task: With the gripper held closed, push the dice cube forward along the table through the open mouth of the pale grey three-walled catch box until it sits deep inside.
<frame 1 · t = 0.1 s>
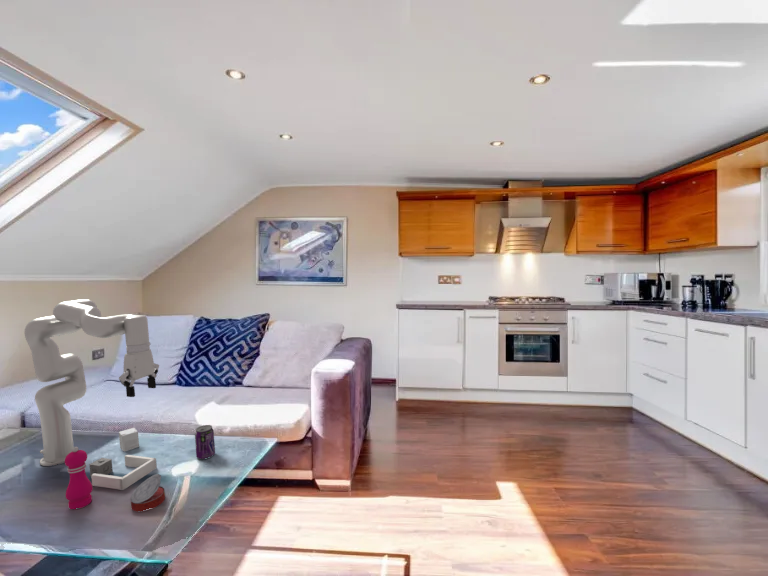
hand: (141, 392, 152), 31 cm above the table, tool pointing down, fingers open, 9 cm apart
pepper mill: (80, 504, 134), on the table
skincare box: (129, 448, 174), on the table
catch box: (125, 476, 151), on the table
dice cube: (101, 474, 153), on the table
canned food: (148, 503, 134), on the table
beverage can: (205, 456, 164), on the table
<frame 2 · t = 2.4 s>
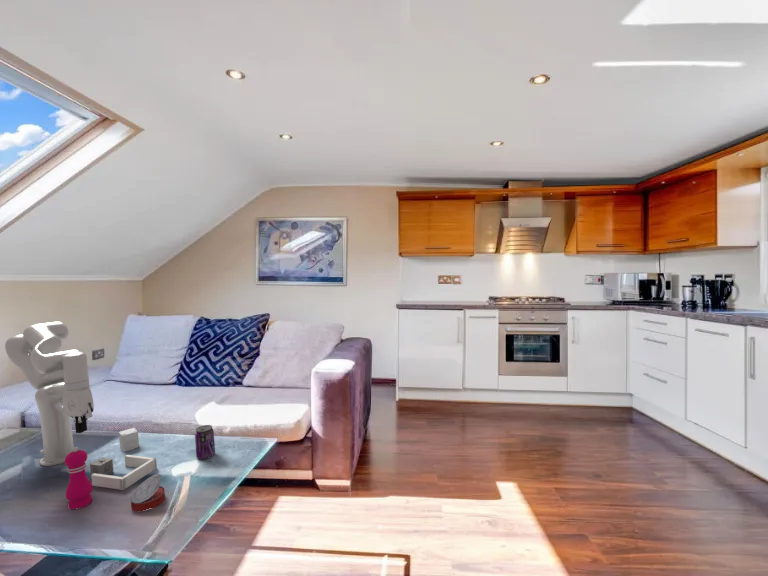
hand: (81, 431, 153), 16 cm above the table, tool pointing down, fingers closed
nothing on the table moved.
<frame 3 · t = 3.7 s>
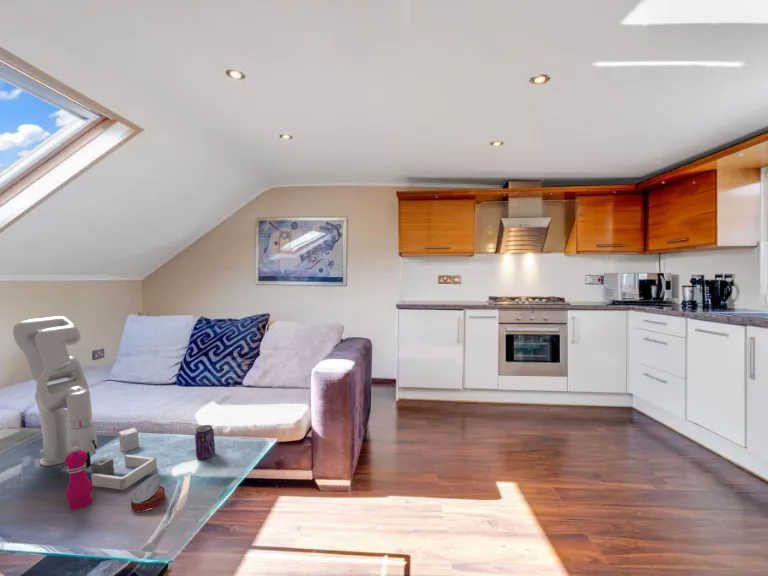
hand: (85, 468, 154), 2 cm above the table, tool pointing down, fingers closed
nothing on the table moved.
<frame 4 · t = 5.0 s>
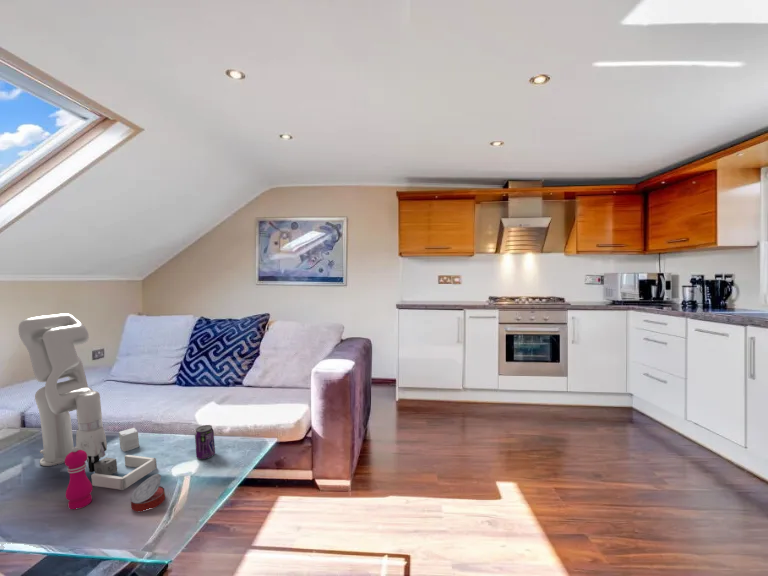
hand: (94, 470, 154), 1 cm above the table, tool pointing down, fingers closed
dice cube: (106, 474, 153), on the table, touching gripper
everything else where it was.
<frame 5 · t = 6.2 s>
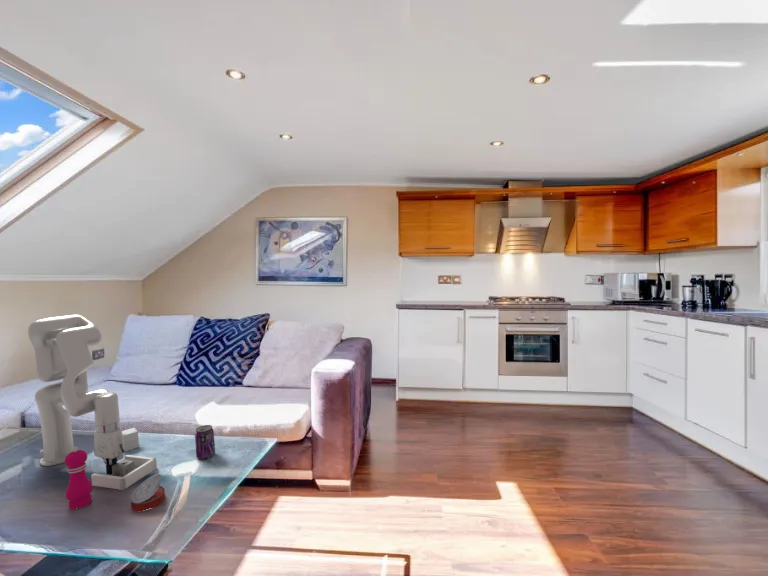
hand: (112, 472, 151), 1 cm above the table, tool pointing down, fingers closed
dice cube: (124, 476, 151), on the table, touching gripper
everything else where it was.
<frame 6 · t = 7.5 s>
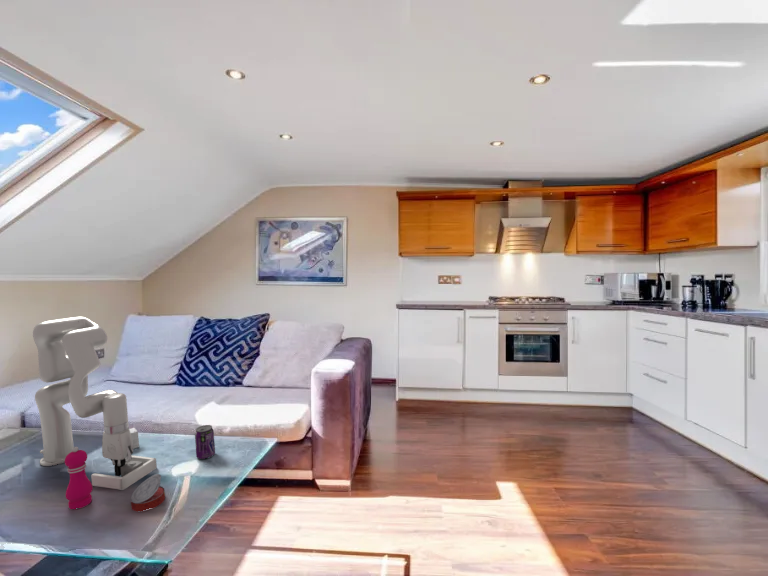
hand: (120, 474, 150), 1 cm above the table, tool pointing down, fingers closed
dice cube: (132, 477, 150), on the table, touching catch box, gripper
everything else where it was.
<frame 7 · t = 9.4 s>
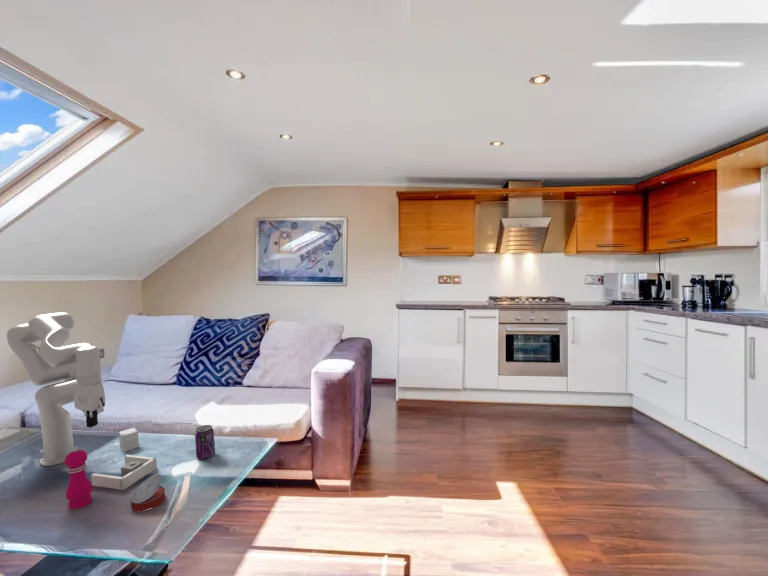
hand: (92, 425, 152), 19 cm above the table, tool pointing down, fingers closed
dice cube: (132, 478, 150), on the table
everything else where it was.
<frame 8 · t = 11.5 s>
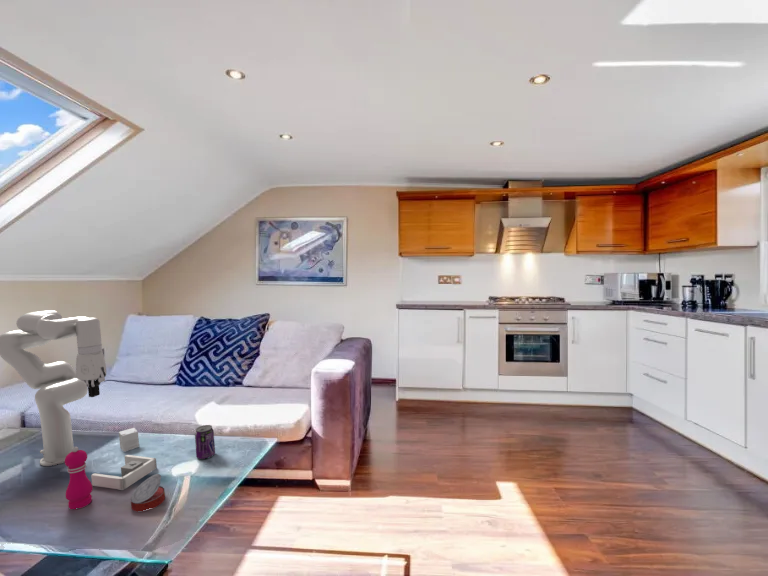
hand: (94, 395, 156), 29 cm above the table, tool pointing down, fingers closed
nothing on the table moved.
at the end: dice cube 1.3 cm from the target spot on the catch box, point 0.0 cm above the catch box's base; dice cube moved 14.3 cm from its start; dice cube tilted 0° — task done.
